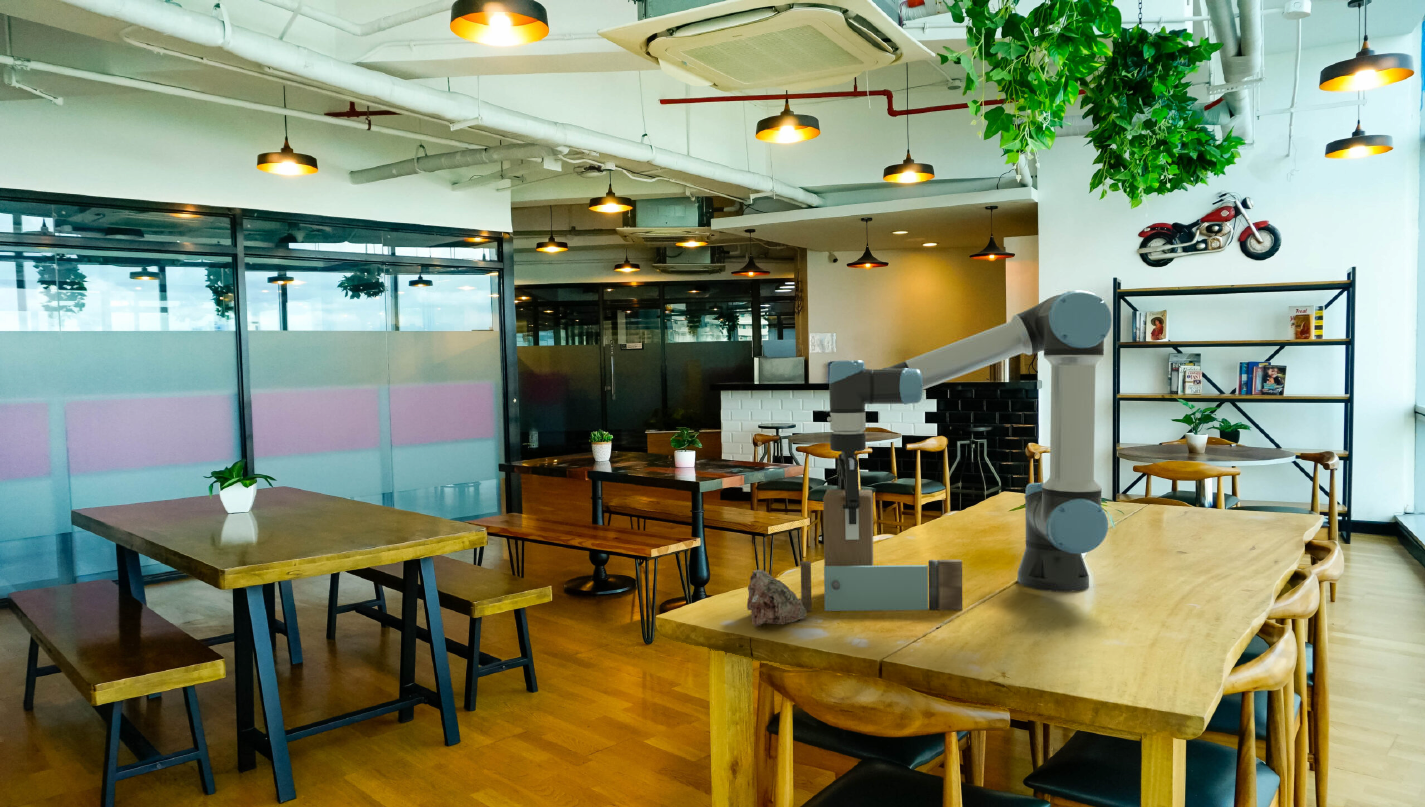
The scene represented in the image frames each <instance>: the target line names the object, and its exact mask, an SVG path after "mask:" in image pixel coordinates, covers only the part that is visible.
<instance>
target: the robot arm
mask: <svg viewBox="0 0 1425 807" xmlns="http://www.w3.org/2000/svg"><path fill="white" fill-rule="evenodd" d="M1111 313H1112V312H1111V310H1110V308H1109V305H1107V303H1106V301H1105V300H1103V299H1102V297H1101V296H1099V295H1097V294H1096V293H1093V292H1090V291H1086V290H1072V291H1070V290H1069V291H1066V292H1063V293H1062V294H1057V295H1054V296H1051V297H1049V298H1047V299H1045V300H1043V301H1042V302H1040V303H1038V304H1036V305H1034V306H1032V307H1030V308H1029V309H1026V310H1024V311H1021V312H1020V313H1017V314H1014V315H1013V316H1012V318H1011V320H1010V321H1008V322H1005V323H1002V324H999V325H997V326H994V327H992V328H990V329H986V330H984V331H981V332H979V333H975V334H974V335H971V336H968V337H966V338H965V337H964V338H963V339H960V340H957V341H955V342H952V343H950V344H947V345H944V346H942V347H938V348H936V349H934V350H931V351H928V352H925V353H923V354H921V355H918V356H914V357H912V358H910V359H907V360H905V361H902V362H899V363H897V364H894V365H891V366H889V367H883V368H879V369H869V368H866V366H865V362H864V360H861V359H860V360H834V361H833V362H831V364H830V365H829V376H828V377H829V385H828V386H829V387H828V389H829V415H830V416H828V417H827V419H826V420H827V422H830V424H829V426H830V429H829V430H830V431H831V432H832V433H830V435H829V440H830V441H829V446H830V447H829V448H830V450H831V451H833V452H837V453H838V452H840V453H839V454H838V459H837V464H838V466H837V467H838V490H845V497H846V505H843V509H845V536H846V540H855V539H859V509H858V507H859V506H860V502H859V490H860V489H859V488H860V486H859V459H858V458H856V452H862V451H865V450H866V448H867V447H866V445H867V444H866V441H867V440H866V434H865V433H864V431H866V430H867V429H866V427H867V426H866V425H867V424H866V422H867V419H866V405H909V404H919V403H920V402H921V401H922V399H923V390H926V389H928V388H930V387H933V386H936V385H937V386H938V385H939V384H942V383H945V382H947V381H950V380H953V379H955V378H958V377H961V376H964V375H966V374H970V373H972V372H974V371H975V372H976V371H977V370H981V369H982V368H986V367H987V366H990V365H994V364H996V363H999V362H1001V361H1005V360H1008V359H1010V358H1013V357H1016V356H1019V355H1021V354H1025V355H1027V356H1031V355H1034V354H1037V353H1041V352H1043V357H1044V359H1045V360H1046V361H1047V362H1048V363H1049V365H1050V366H1051V367H1050V368H1051V369H1050V370H1051V371H1050V373H1051V374H1050V432H1049V433H1050V437H1049V438H1050V439H1049V440H1050V442H1049V443H1050V445H1049V446H1050V448H1049V449H1050V451H1049V478H1048V479H1047V480H1046V481H1045V482H1031V483H1028V484H1027V485H1026V487H1025V495H1024V500H1025V504H1024V505H1025V506H1024V508H1025V550H1024V552H1023V555H1022V558H1021V561H1020V564H1019V567H1018V570H1017V583H1018V584H1020V585H1021V586H1023V587H1027V588H1030V589H1035V590H1041V591H1048V592H1076V591H1083V590H1086V589H1088V588H1089V586H1090V576H1089V571H1088V570H1087V567H1086V563H1085V561H1084V558H1083V555H1082V554H1086V553H1088V552H1091V551H1094V550H1095V549H1097V548H1098V547H1099V546H1100V545H1102V543H1103V541H1104V540H1105V538H1106V537H1107V534H1108V530H1109V521H1108V516H1107V514H1106V511H1104V509H1103V507H1102V487H1101V485H1100V484H1098V483H1097V482H1096V480H1095V425H1096V423H1095V422H1096V420H1095V419H1096V418H1095V417H1096V366H1097V364H1098V363H1099V362H1100V361H1101V360H1102V359H1103V358H1104V355H1105V354H1104V353H1105V352H1104V351H1105V350H1104V349H1105V348H1104V347H1105V339H1106V338H1107V336H1108V335H1109V333H1110V330H1111V327H1112V321H1113V320H1112V314H1111Z"/></svg>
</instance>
